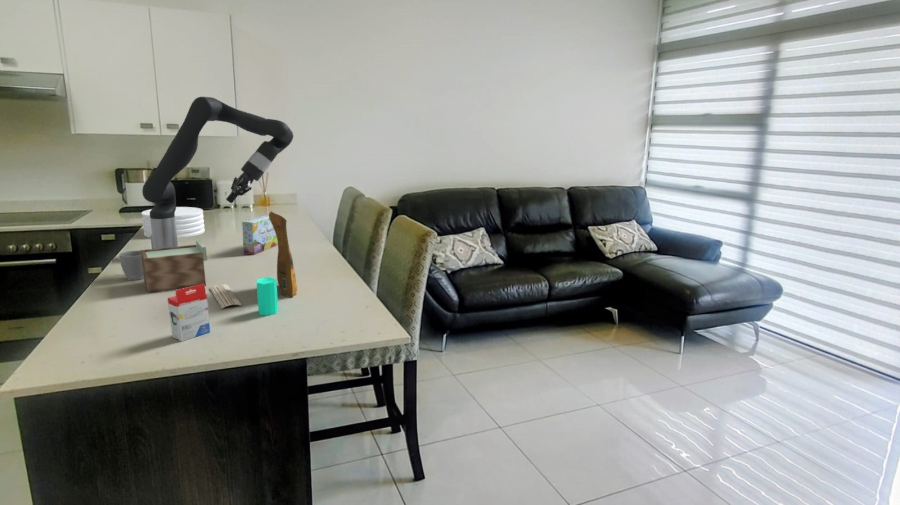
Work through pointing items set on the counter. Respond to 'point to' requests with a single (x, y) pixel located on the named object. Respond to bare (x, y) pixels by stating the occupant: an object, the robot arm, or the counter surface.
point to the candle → (267, 296)
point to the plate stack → (180, 222)
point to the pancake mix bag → (284, 257)
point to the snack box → (258, 235)
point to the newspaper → (224, 295)
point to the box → (172, 270)
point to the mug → (132, 264)
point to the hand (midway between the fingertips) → (228, 201)
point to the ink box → (189, 313)
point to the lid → (180, 251)
